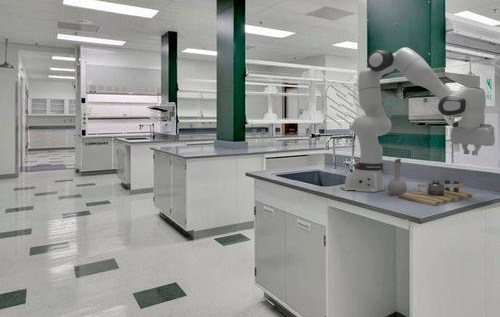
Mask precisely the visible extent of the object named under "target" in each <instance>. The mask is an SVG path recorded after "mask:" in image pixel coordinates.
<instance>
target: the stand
mask: <svg viewBox="0 0 500 317" xmlns="http://www.w3.org/2000/svg"><path fill="white" fill-rule="evenodd" d="M444 184H451V180H449V179H445V181H444ZM453 184H460V181H458V180H457V181H453ZM459 189H460V188H453V190H452V189H451V188H444V195H430V194H428V193H427V188H425V189H422V190H417V191H412V192H407V193H406V192H405V193H403V194H401V195H398V196H397V198H398V199H400V200H404V199H405V200H406V201H411V202H414V203H420V204H425V205H427V206H429V205H430V206H433V207H436V205H437V206H440V205H444V204H445V205H446V204H448V203H452V202H453V203H454V202H457V201H461V200H465V199H468V198H473V193H470V192H465V191H460V190H459Z"/></svg>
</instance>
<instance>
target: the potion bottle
mask: <svg viewBox="0 0 500 317" xmlns="http://www.w3.org/2000/svg"><path fill="white" fill-rule="evenodd" d="M402 164H403V162H402V160H401V158H397V159H394V161H393V166H394V167H395V170H394V179H393V178H392V179H390V180H389V182H388V184H387V190H388V192H389V195H390V196H396V197H398V195H401V194H406V192H407V188H408V187H407V184H406V182H405V181H404V180H403V179H400V177H401V167H402Z"/></svg>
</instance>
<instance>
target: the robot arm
mask: <svg viewBox="0 0 500 317" xmlns="http://www.w3.org/2000/svg"><path fill="white" fill-rule="evenodd" d="M366 62H367V63H366V64H367V66H368V67H366V68H364V69H362V70H360V72H359V74H358V82H357V86H358V88H357V89H358V103H359V107H360V108H361V109H362V110H363V112H364V115H362V116H359V117H356V119H354V120H353V121H352V126H351V129H352V132H353V134H355V136H356V137H357V139H358V142H359V147H360V162H357V161H356V162H354V166H355V167H356V169H355V170H353V171H352V172H350V173H349V174H347V176H346V177H345V181H344V183H342V184H341V185H340V188H341V187H342V188H343V189H346V190H345V191H347V190H355V191H354V192H365V193H366V192H367V193H368V192H369V193H377V192H380V191H381V192H382V191H383V190H385V186H384V185H385V184H384V180H383V179H384V178H383V173H384V163H383V156H384V155H383V151H384V150H383V146H381V144H380V142H379V137H380V136H384V135H386V134H388V133H389V132H390V131H391V129H392V128H393V127H392V121H391V119H390V118H389V117H388V116H387V114H386V111H385V109H384V106H383V101H382V91H381V90H382V89H381V78H385V77H386V76H388V75H390V74H392V73H394V72H396V71H399V72H400V73H401V75H402V76H404V77H405V79H407V81H409V82H411V83H412V84H414V85H416V86H418V87H419V86H420V87H422V88H425V89H427V90H428V91H430V92H431V93H432V94H433V95H434V96H435V97H436V98H437V99H438V100H439V102H438V104H437V106H438V107H437V108H438V111H439V113H440V114H441V115H443V116H446V117H452V118H460V117H461V119H459V120H456V121H454V122H452V123H451V131H450V142H451V144H460V145H461V147H462V150H463V154H464V155H469V154H470V150H469V149H468V147H469V145H472V146H474V149H473V150H472V151H471V155H472V156H478V155H479V151H480V150H481V148H482V146H483V147H491V146H492V147H493V146H494V145H495V143H496V142H495V141H496V140H495V138H496V137H495V128H494V126H493V125H492V124H491V123H485V119H486V116H485V108H486V105H487V104H486V103H487V102H486V101H487V99H486V98H487V97H486V91H485V90H484V88H481V87H478V86H466V87H464V88H463V89H462V90H459V91H457V92H453V90H451V89H450V88H449V87H448V86H447V85H446V84H445V83H444V82H442V81H441V79H440V78H439V77H438V76H437V74H436V73H435V72H434V71H433V69H432V68H431V66H430V65H429V63H428V62H427V61H426V60H425V59H424V58H423V57H422V56H421V55H420V54H418V53H417V52H416V51H414V50H413V49H412V48H410V47H401V48H399V49H398V50H397V51H396V52H394V53H393V52H392V51H391V50H390V51H389V50H384V49H375V50H373V51H372V52H370V53H369V55H368V57H367V61H366ZM342 188H341V189H342ZM343 189H342V190H343Z"/></svg>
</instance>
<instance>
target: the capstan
mask: <svg viewBox="0 0 500 317" xmlns="http://www.w3.org/2000/svg"><path fill="white" fill-rule="evenodd" d="M463 187H464V184H462V183H459V184H454V183H450V184H445V183H442V182H440V180H439V179H432V182H428V183H418V184H417V188H419V189H421V188H422V189H423V188H425V189H427V193H428V194H430V195H444V189H445V188H450V189H452V188H453V189H454V188H459V189H461V188H463Z"/></svg>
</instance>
